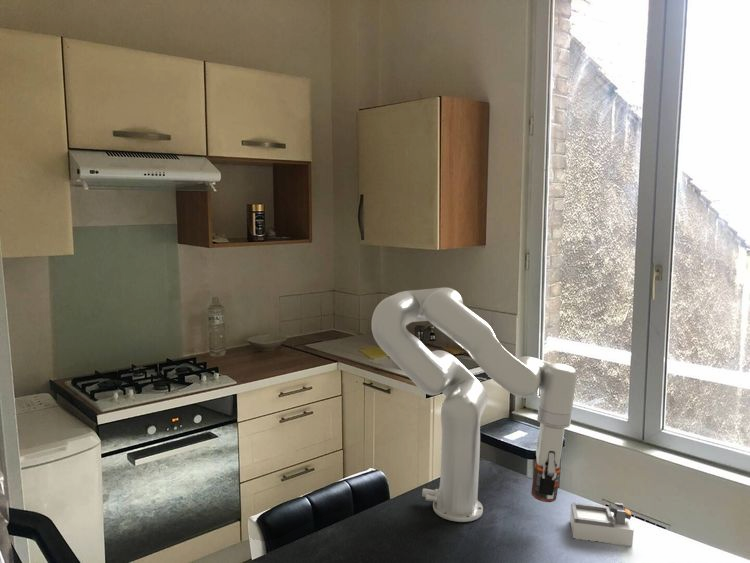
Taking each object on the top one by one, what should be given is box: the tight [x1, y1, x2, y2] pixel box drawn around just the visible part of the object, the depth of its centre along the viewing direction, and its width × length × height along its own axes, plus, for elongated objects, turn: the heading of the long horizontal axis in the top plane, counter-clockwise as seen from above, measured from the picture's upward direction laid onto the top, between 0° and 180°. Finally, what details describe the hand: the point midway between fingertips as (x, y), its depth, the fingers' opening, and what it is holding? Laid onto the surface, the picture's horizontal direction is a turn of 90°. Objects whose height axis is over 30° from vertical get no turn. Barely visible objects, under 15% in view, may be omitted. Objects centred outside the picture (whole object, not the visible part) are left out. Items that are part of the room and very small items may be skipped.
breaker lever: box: [607, 502, 632, 521], centre depth 145 cm, size 5×2×1 cm, turn 78°
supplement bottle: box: [530, 453, 562, 503], centre depth 147 cm, size 6×6×11 cm
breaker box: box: [569, 502, 635, 547], centre depth 146 cm, size 13×8×7 cm, turn 78°
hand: (544, 486), depth 147 cm, fingers closed on supplement bottle, 6 cm apart
